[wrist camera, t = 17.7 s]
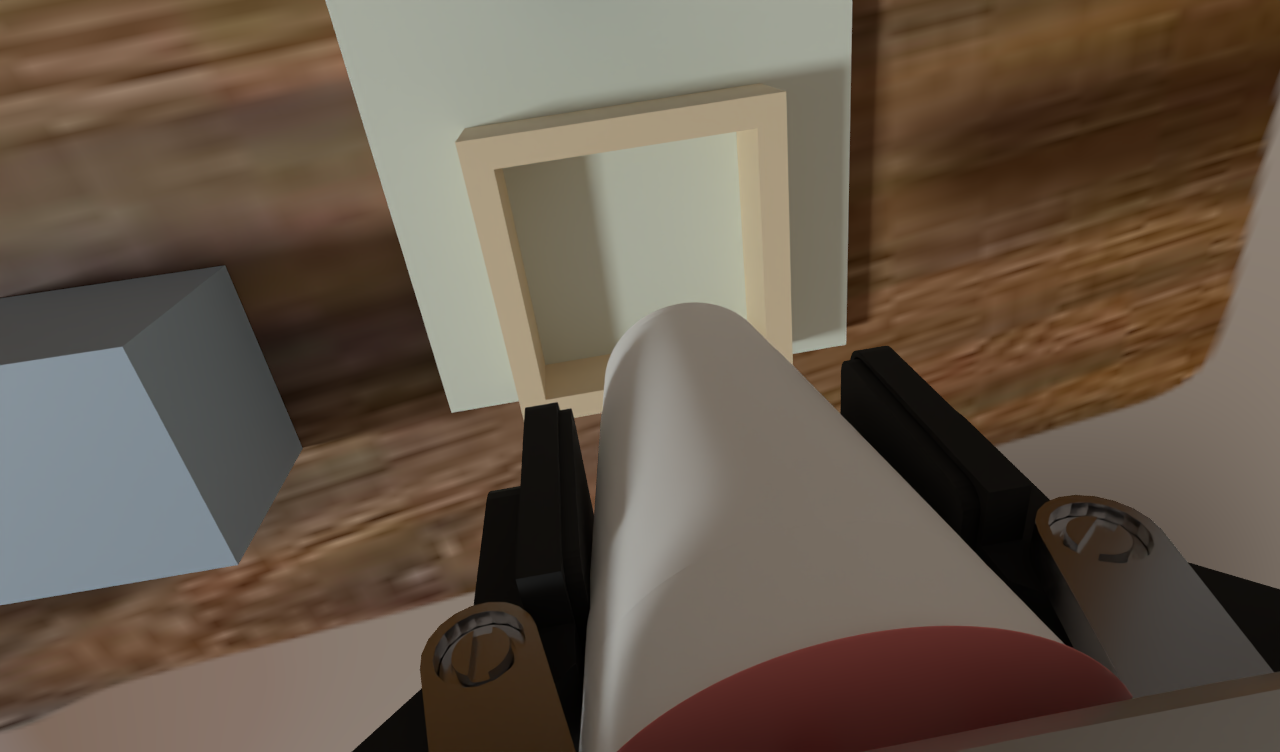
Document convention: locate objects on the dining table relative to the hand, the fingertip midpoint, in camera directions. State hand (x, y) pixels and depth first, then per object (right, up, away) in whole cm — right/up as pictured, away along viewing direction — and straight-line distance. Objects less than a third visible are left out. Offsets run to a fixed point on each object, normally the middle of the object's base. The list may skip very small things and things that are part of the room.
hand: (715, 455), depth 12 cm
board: (-2, +10, +9) cm, 14 cm away
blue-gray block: (-17, +1, +11) cm, 21 cm away
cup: (0, +1, +3) cm, 3 cm away
